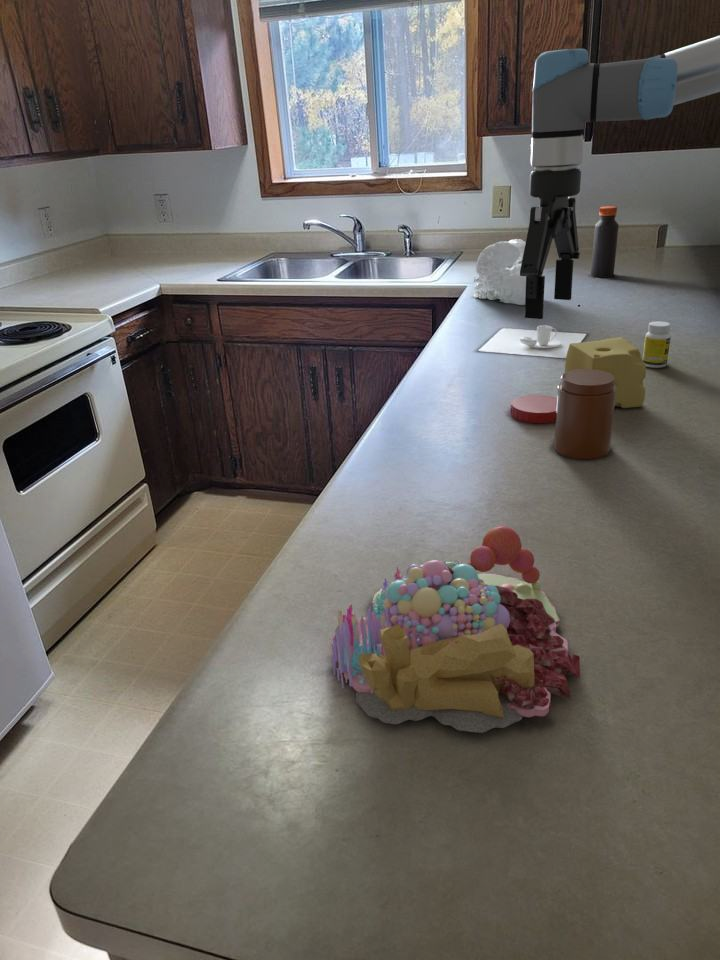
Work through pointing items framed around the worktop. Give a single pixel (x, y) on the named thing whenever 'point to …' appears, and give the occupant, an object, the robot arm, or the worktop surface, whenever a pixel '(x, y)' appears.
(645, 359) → the supplement bottle
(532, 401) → the lid
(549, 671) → the pastel sphere sculpture
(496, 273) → the white plaster sculpture
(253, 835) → the worktop surface
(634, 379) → the cheese
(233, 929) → the worktop surface
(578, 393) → the jam jar
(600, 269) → the vinegar
